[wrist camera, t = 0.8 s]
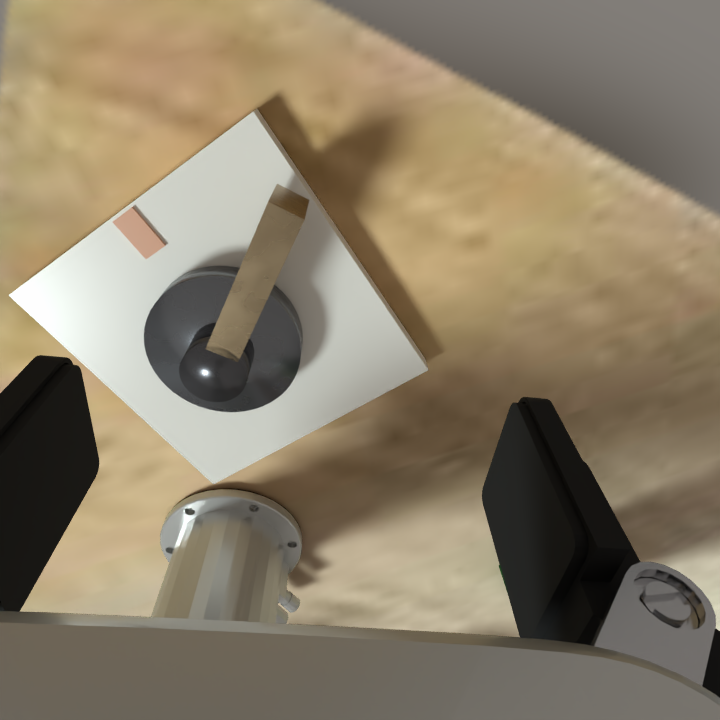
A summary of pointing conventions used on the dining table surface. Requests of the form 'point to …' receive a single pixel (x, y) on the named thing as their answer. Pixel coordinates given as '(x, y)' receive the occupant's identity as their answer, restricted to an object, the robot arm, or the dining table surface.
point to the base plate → (228, 248)
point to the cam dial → (232, 322)
